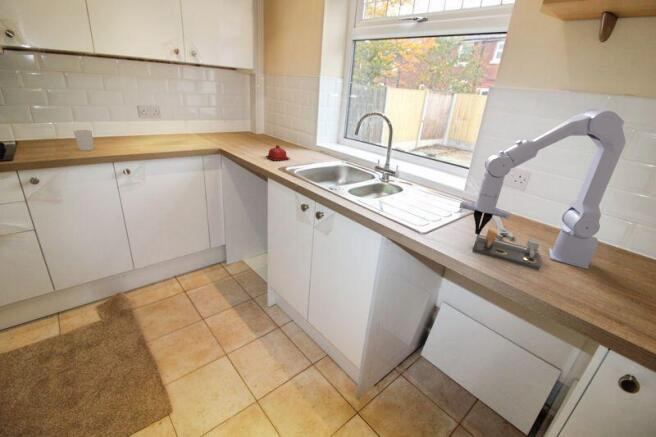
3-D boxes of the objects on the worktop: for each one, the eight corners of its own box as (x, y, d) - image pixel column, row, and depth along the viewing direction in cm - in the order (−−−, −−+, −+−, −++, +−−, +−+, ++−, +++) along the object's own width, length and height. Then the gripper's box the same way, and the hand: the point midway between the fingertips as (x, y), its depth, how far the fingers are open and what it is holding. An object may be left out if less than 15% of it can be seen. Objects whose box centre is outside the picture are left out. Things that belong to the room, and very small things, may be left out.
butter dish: (280, 156, 198) (280, 142, 195) (290, 160, 190) (291, 146, 187) (264, 158, 191) (264, 143, 188) (274, 162, 183) (274, 147, 180)
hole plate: (536, 253, 100) (542, 238, 98) (538, 270, 90) (545, 254, 88) (476, 237, 108) (480, 223, 106) (472, 251, 98) (476, 235, 96)
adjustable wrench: (490, 215, 130) (491, 211, 130) (507, 219, 128) (508, 214, 128) (493, 238, 109) (494, 234, 108) (513, 243, 107) (515, 238, 106)
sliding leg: (494, 239, 103) (497, 229, 102) (492, 248, 97) (496, 237, 96) (485, 237, 104) (489, 227, 103) (483, 246, 98) (487, 235, 97)
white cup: (93, 150, 174) (89, 132, 170) (75, 150, 171) (71, 132, 167) (96, 147, 181) (93, 130, 177) (80, 147, 178) (76, 129, 174)
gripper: (515, 196, 98) (502, 235, 104) (466, 186, 104) (456, 223, 110) (515, 202, 92) (501, 243, 98) (463, 191, 99) (453, 230, 104)
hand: (477, 233), depth 103 cm, fingers closed
